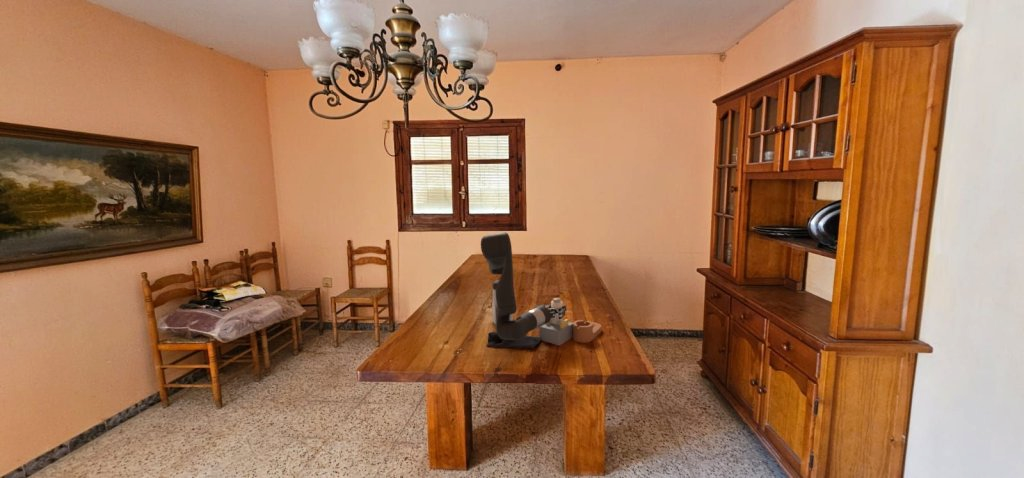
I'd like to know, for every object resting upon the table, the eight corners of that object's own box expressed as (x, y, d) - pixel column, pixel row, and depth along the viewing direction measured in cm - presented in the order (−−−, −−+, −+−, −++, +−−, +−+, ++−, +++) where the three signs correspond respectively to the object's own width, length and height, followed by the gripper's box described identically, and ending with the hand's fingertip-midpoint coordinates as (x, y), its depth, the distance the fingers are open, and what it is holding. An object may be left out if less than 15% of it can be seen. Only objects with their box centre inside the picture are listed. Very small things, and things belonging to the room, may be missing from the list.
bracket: (588, 344, 164) (588, 328, 163) (569, 340, 169) (569, 324, 168) (603, 330, 179) (603, 315, 178) (586, 326, 184) (586, 312, 183)
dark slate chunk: (533, 354, 157) (533, 342, 157) (483, 347, 165) (482, 336, 164) (543, 339, 172) (543, 328, 171) (496, 333, 179) (496, 323, 178)
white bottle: (553, 324, 167) (553, 301, 166) (549, 320, 172) (549, 297, 170) (564, 323, 168) (564, 300, 167) (559, 319, 173) (559, 296, 171)
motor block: (559, 345, 163) (559, 325, 162) (539, 339, 170) (539, 320, 168) (577, 334, 175) (577, 315, 173) (558, 329, 181) (558, 311, 180)
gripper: (551, 312, 153) (574, 301, 166) (522, 305, 162) (546, 295, 175) (551, 330, 154) (574, 318, 167) (523, 322, 163) (546, 311, 176)
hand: (560, 306), depth 171 cm, fingers closed on white bottle, 4 cm apart
